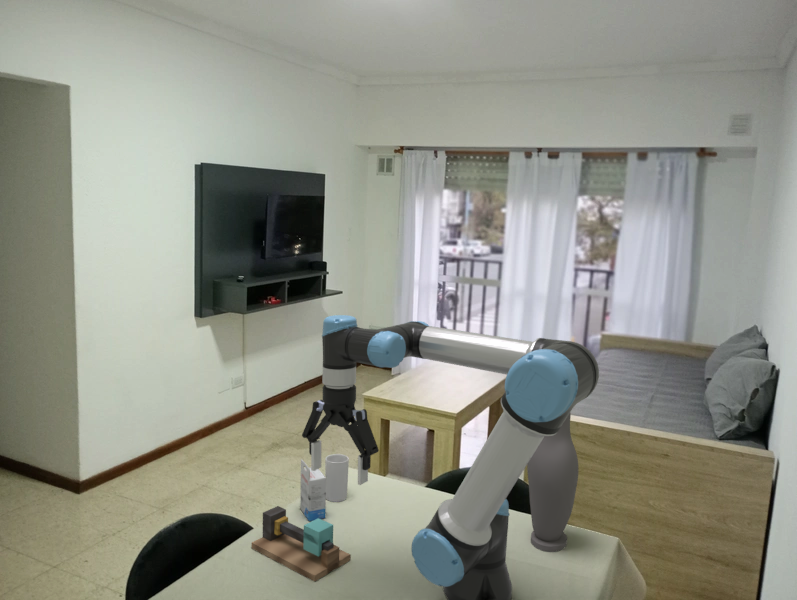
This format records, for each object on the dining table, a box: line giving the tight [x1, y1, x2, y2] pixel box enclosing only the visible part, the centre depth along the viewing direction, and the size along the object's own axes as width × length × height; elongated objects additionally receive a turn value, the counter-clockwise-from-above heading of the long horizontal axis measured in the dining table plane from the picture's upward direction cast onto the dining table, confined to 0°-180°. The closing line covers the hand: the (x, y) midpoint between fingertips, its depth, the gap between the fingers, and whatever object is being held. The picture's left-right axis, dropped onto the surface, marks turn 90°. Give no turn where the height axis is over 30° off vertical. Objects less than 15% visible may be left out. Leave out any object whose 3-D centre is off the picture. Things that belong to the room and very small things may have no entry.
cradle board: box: [251, 505, 352, 582], centre depth 156 cm, size 22×12×8 cm, turn 52°
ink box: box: [299, 458, 327, 522], centre depth 177 cm, size 9×5×15 cm, turn 25°
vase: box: [526, 412, 579, 553], centre depth 165 cm, size 13×13×35 cm
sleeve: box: [303, 518, 334, 557], centre depth 152 cm, size 5×5×6 cm
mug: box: [324, 453, 350, 503], centre depth 189 cm, size 10×7×12 cm, turn 177°
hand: (338, 475), depth 146 cm, fingers open, 13 cm apart
